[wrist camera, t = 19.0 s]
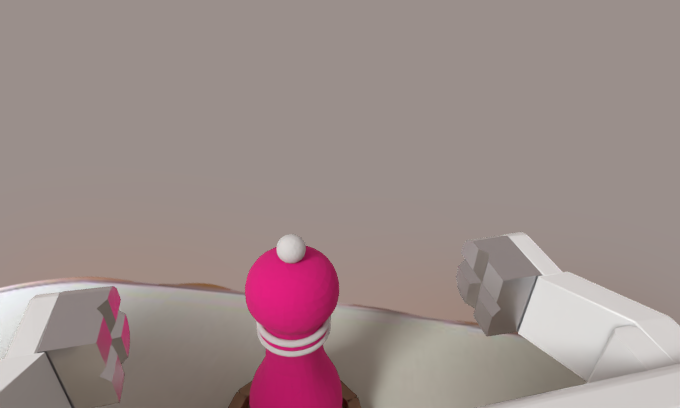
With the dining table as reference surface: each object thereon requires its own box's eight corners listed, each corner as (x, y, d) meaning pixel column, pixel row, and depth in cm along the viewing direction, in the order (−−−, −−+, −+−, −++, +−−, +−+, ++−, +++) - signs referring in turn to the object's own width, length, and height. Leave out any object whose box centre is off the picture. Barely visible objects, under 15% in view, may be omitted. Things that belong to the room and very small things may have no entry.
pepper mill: (239, 461, 36) (207, 266, 25) (270, 383, 42) (255, 197, 31) (329, 483, 35) (337, 288, 24) (348, 399, 41) (361, 212, 30)
